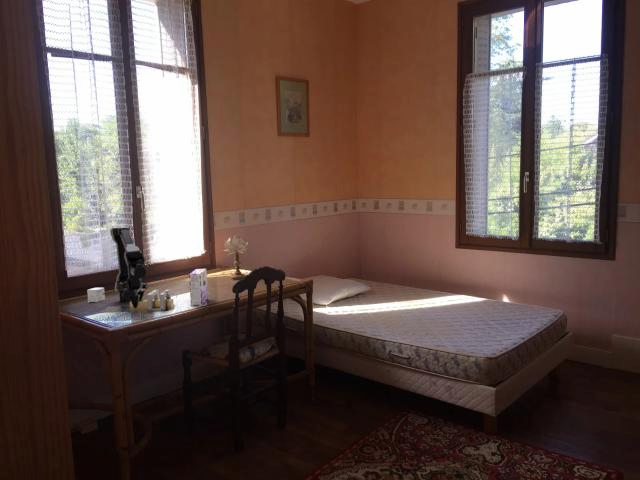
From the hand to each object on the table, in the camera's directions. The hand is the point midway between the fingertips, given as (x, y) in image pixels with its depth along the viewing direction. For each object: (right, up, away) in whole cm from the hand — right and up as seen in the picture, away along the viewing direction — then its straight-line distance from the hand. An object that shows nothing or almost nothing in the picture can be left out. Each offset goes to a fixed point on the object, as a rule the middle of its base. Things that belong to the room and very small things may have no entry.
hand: (136, 307), depth 261 cm
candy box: (+28, 0, +13) cm, 31 cm away
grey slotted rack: (0, -2, 0) cm, 2 cm away
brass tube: (+7, -1, 0) cm, 7 cm away
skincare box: (-28, 0, +21) cm, 35 cm away
